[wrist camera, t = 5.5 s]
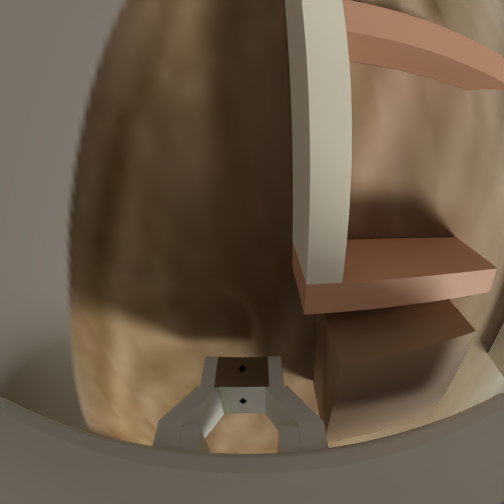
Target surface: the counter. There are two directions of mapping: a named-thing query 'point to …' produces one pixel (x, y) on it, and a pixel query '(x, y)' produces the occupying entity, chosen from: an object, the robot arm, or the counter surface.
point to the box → (340, 157)
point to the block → (386, 365)
